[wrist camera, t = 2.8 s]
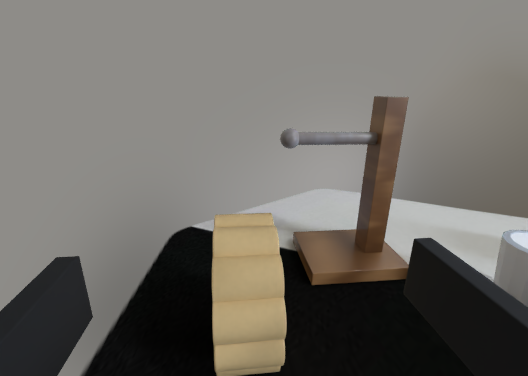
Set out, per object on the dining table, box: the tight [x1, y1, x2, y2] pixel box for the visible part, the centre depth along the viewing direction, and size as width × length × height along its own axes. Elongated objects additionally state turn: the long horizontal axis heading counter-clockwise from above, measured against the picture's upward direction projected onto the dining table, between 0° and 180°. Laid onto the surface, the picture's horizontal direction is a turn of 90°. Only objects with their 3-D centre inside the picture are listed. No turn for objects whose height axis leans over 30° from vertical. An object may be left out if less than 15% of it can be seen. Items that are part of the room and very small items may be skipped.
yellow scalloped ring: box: [212, 213, 286, 376], centre depth 23 cm, size 4×12×12 cm, turn 7°
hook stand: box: [280, 96, 409, 285], centre depth 34 cm, size 15×10×21 cm, turn 97°
